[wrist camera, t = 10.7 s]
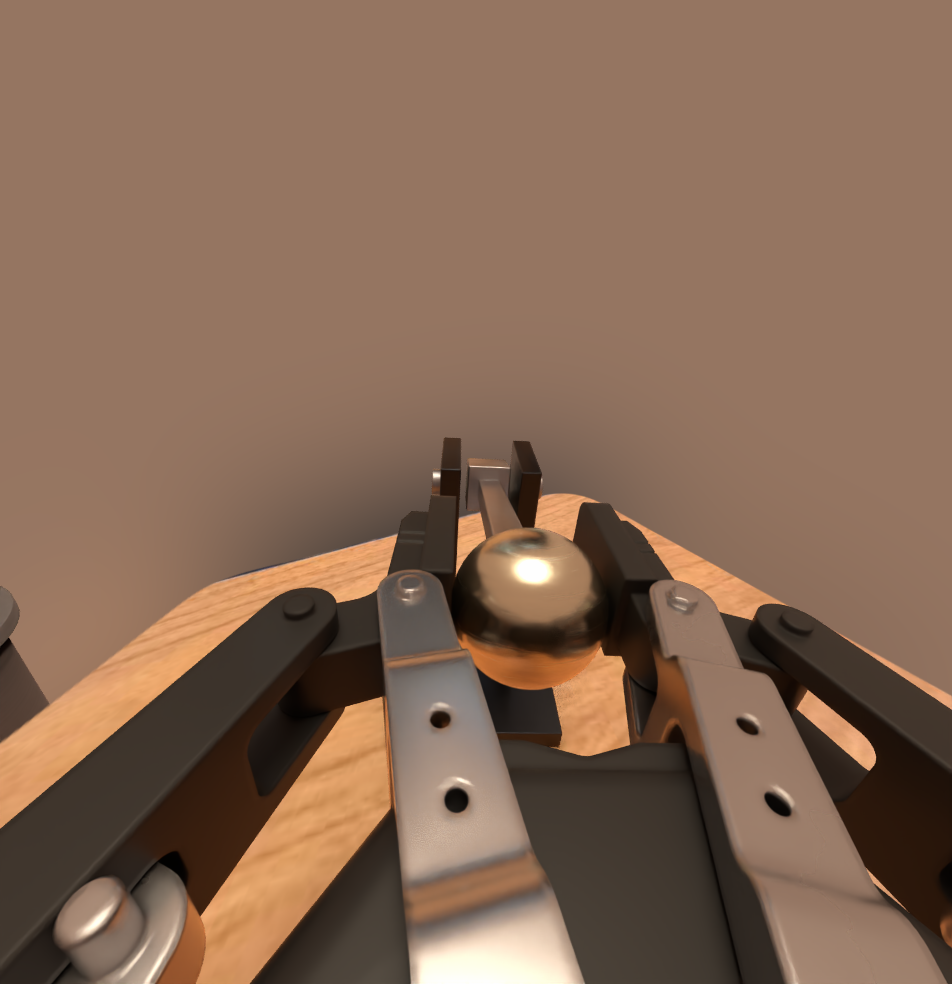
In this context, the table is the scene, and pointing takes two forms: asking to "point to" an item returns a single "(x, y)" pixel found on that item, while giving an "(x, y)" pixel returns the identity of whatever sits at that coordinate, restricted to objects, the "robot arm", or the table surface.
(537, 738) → the bracket
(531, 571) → the lever
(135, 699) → the table surface
